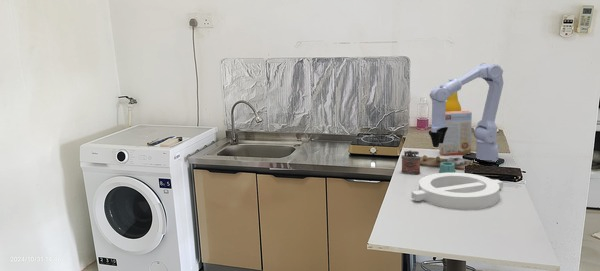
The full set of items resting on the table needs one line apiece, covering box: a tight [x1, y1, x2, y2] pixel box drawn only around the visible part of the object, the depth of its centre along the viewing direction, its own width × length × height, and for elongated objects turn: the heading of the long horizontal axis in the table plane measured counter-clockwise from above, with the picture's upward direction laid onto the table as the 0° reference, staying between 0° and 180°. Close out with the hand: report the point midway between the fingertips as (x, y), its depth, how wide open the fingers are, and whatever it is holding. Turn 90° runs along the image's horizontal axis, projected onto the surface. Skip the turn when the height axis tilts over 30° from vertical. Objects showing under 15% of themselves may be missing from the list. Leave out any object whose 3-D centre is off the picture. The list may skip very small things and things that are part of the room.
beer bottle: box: [446, 91, 462, 112], centre depth 247 cm, size 9×9×29 cm
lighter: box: [400, 149, 421, 175], centre depth 199 cm, size 8×3×10 cm, turn 62°
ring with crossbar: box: [411, 172, 504, 210], centre depth 170 cm, size 28×28×5 cm
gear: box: [438, 162, 456, 173], centre depth 197 cm, size 6×6×4 cm
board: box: [420, 154, 472, 171], centre depth 210 cm, size 23×12×4 cm, turn 59°
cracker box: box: [439, 110, 473, 156], centre depth 224 cm, size 14×6×21 cm, turn 84°
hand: (438, 145), depth 206 cm, fingers open, 7 cm apart
